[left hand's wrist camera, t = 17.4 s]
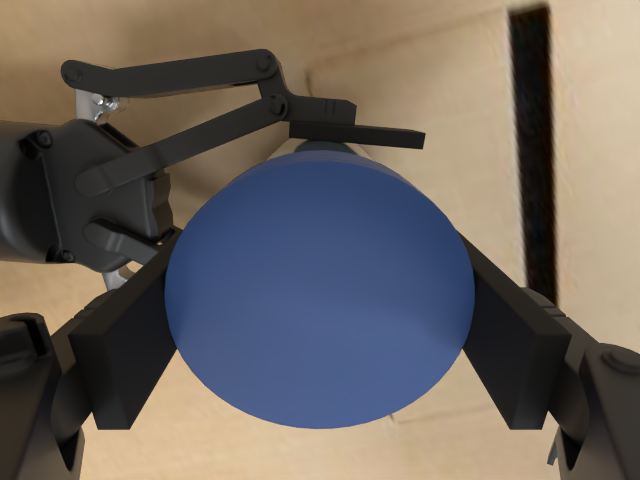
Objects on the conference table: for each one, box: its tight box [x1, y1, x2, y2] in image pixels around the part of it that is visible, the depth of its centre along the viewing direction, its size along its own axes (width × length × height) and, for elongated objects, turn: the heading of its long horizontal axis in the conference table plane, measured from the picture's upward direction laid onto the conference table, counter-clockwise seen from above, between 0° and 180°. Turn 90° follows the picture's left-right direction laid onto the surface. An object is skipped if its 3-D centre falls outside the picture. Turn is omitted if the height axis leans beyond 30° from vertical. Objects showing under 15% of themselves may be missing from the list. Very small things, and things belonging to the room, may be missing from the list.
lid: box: [164, 150, 475, 429], centre depth 11 cm, size 9×9×2 cm
